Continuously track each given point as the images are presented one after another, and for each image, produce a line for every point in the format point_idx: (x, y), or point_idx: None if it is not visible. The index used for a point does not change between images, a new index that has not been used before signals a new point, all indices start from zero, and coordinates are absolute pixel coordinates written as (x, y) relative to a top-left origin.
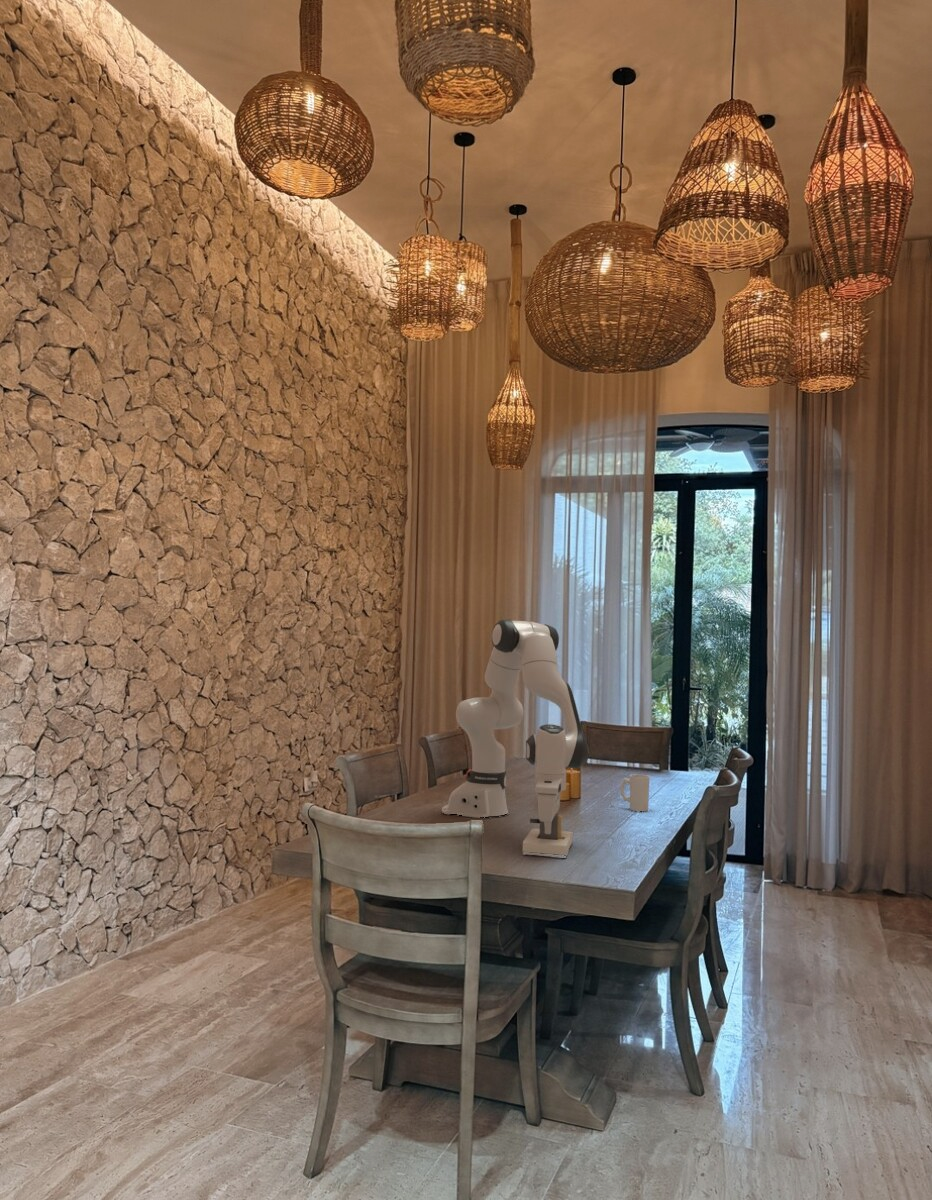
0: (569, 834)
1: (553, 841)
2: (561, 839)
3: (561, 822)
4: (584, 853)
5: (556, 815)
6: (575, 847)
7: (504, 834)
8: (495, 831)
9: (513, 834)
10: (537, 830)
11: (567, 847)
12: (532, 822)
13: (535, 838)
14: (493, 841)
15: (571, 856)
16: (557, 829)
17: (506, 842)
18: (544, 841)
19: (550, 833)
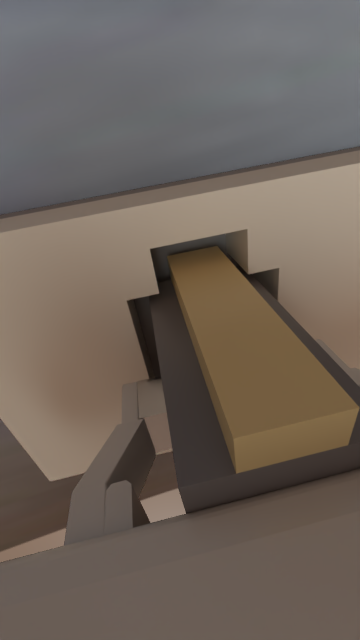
0: (21, 249)
1: (332, 282)
2: (254, 250)
3: (297, 341)
4: (187, 21)
5: (300, 473)
6: (32, 168)
7: (39, 512)
8: (19, 539)
9: (10, 499)
10: (73, 451)
11: (335, 160)
12: None
13: None
14: (167, 489)
15: (314, 119)
16: (290, 323)
17: (158, 464)
18: (342, 328)
19: (320, 340)
